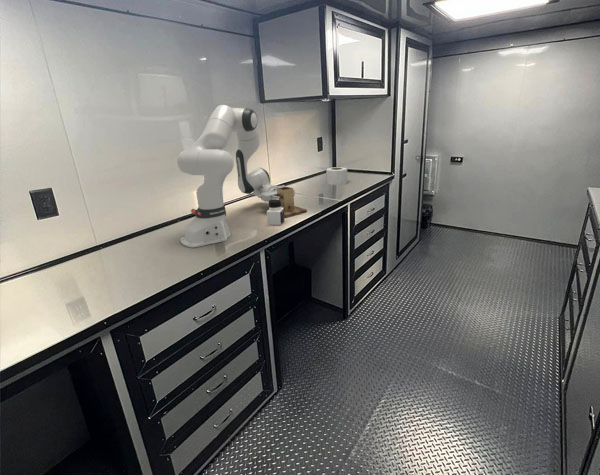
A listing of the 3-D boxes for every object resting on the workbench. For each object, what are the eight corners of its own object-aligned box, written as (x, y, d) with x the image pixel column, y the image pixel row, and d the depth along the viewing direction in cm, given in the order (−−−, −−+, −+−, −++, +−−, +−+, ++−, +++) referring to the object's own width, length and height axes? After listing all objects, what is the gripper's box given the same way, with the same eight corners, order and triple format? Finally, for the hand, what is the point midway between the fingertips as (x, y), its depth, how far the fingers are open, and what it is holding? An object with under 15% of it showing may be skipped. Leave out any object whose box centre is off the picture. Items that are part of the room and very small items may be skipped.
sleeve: (286, 212, 184) (284, 190, 180) (277, 209, 190) (275, 188, 186) (295, 209, 188) (294, 188, 184) (286, 207, 194) (285, 186, 190)
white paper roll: (332, 186, 248) (331, 171, 245) (323, 182, 262) (322, 168, 258) (350, 183, 254) (351, 168, 250) (341, 180, 267) (341, 166, 263)
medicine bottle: (281, 225, 169) (279, 201, 164) (267, 225, 170) (265, 201, 166) (284, 220, 175) (283, 198, 171) (271, 220, 177) (269, 197, 172)
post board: (283, 218, 179) (282, 199, 175) (266, 212, 191) (264, 195, 187) (306, 212, 188) (306, 194, 185) (288, 206, 200) (288, 190, 197)
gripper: (255, 190, 189) (270, 194, 178) (285, 184, 201) (300, 187, 191) (256, 201, 191) (271, 206, 181) (286, 195, 203) (301, 198, 193)
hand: (286, 196), depth 186 cm, fingers open, 8 cm apart
